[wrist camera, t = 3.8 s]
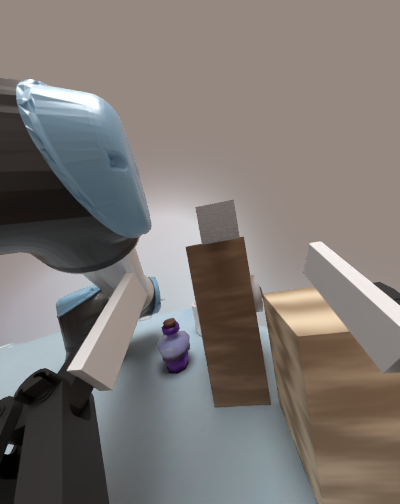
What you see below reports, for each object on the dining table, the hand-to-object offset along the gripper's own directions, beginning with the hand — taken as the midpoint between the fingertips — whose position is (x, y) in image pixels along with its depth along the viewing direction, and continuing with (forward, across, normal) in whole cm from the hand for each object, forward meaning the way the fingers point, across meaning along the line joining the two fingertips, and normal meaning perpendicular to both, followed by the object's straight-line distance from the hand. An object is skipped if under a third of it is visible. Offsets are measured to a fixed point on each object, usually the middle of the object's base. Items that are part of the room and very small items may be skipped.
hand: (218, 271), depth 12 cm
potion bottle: (+8, -15, -37) cm, 41 cm away
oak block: (-6, +11, -28) cm, 31 cm away
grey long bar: (+14, 0, -6) cm, 16 cm away
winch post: (+5, +1, -35) cm, 35 cm away
